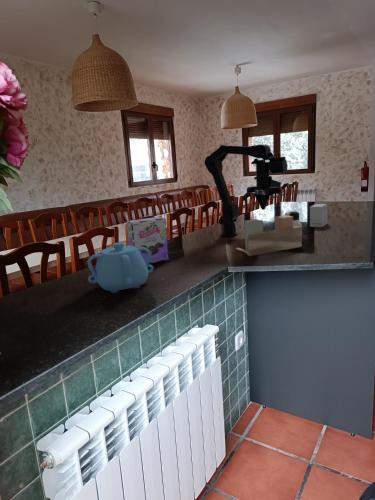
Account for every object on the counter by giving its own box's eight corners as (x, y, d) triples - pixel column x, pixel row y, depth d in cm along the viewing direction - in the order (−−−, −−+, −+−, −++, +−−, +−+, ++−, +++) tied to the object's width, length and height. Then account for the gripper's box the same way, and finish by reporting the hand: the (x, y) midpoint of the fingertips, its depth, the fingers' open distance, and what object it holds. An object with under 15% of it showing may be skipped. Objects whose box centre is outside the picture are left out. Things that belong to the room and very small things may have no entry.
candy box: (135, 266, 128) (130, 222, 124) (130, 263, 133) (125, 220, 129) (169, 260, 134) (166, 217, 130) (163, 257, 139) (159, 216, 135)
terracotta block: (275, 245, 143) (274, 216, 141) (285, 243, 145) (285, 215, 142) (282, 247, 139) (282, 217, 136) (293, 246, 141) (293, 216, 138)
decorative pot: (127, 299, 97) (122, 251, 93) (84, 292, 104) (78, 248, 101) (159, 280, 111) (155, 238, 107) (119, 276, 118) (115, 236, 115)
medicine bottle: (298, 236, 157) (298, 210, 155) (302, 240, 151) (302, 212, 148) (282, 237, 158) (282, 211, 155) (285, 241, 151) (284, 213, 148)
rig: (233, 249, 142) (233, 230, 140) (282, 241, 151) (282, 223, 149) (250, 256, 131) (249, 235, 129) (301, 246, 140) (301, 226, 138)
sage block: (245, 250, 139) (244, 220, 136) (256, 248, 140) (255, 219, 137) (252, 253, 134) (251, 222, 131) (263, 251, 136) (263, 220, 133)
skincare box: (315, 223, 187) (315, 203, 185) (327, 223, 184) (328, 203, 181) (309, 226, 179) (309, 206, 177) (322, 227, 175) (322, 206, 173)
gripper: (291, 172, 148) (291, 209, 152) (265, 173, 165) (266, 206, 169) (269, 174, 144) (269, 212, 148) (245, 174, 161) (246, 208, 165)
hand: (263, 209), depth 157 cm, fingers closed
